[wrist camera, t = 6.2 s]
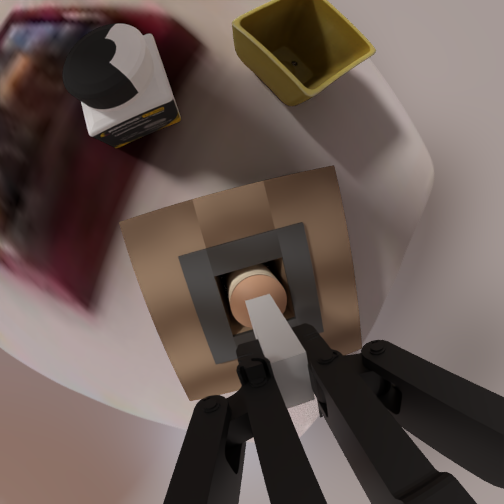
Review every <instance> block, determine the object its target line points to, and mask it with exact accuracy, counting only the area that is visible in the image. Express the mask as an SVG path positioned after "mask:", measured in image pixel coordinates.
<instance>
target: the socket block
mask: <svg viewBox="0 0 504 504" xmlns="http://www.w3.org/2000/svg"><path fill="white" fill-rule="evenodd" d="M119 224H120V227H121V231H122V234H123V237H124V241H125V244H126V247H127V250H128V253H129V257H130V260H131V263H132V266H133V269H134V271H135V274H136V277H137V280H138V283H139V286H140V288H141V291H142V294H143V297H144V299H145V302H146V304H147V307H148V310H149V312H150V315H151V317H152V320H153V322H154V325H155V327H156V329H157V332H158V334H159V336H160V339H161V341H162V343H163V346H164V348H165V350H166V353H167V355H168V357H169V359H170V361H171V363H172V366H173V368H174V370H175V372H176V374H177V376H178V378H179V380H180V382H181V384H182V386H183V388H184V390H185V392H186V394H187V396H188V398H189V400H190V401H193V400H198V399H203V398H205V397H207V396H211V395H221V394H225V393H229V392H233V391H237V390H239V389H240V388H241V386H242V385H241V383H240V380H239V377H238V374H237V372H236V369H237V366H238V365H239V364H238V359H237V354H236V349H237V347H238V345H239V344H242V343H246V342H249V341H253V340H256V338H255V334H254V331H253V328H249V327H246V326H244V325H242V324H241V323H239V322H238V321H237V320H236V319H235V317H234V316H233V314H232V311H231V307H230V302H229V298H227V299H226V296H225V293H224V289H223V286H222V283H221V279H220V276H219V275H222V274H225V273H229V272H232V271H236V270H239V269H243V268H246V267H250V266H253V265H257V264H260V263H264V262H268V266H269V270H270V271H271V272H272V274H273V275H274V276H275V277H276V279H277V280H278V281H279V282H280V284H281V285H282V286H283V288H284V290H285V292H286V296H287V305H286V309H285V311H284V313H283V316H284V318H285V319H286V321H287V322H288V324H289V326H290V327H291V328H292V327H295V326H298V325H301V324H304V323H307V324H310V325H312V326H314V328H315V329H316V330H317V332H318V333H319V334H320V336H321V337H322V338H323V339H324V340H325V342H326V343H327V344H328V345H329V347H330V348H331V349H334V350H337V351H339V352H340V353H341V354H342V355H347V354H349V353H352V352H354V351H357V350H359V349H361V348H362V342H361V329H360V318H359V309H358V299H357V291H356V283H355V275H354V268H353V261H352V255H351V248H350V242H349V236H348V231H347V225H346V220H345V214H344V209H343V204H342V199H341V194H340V190H339V185H338V180H337V176H336V172H335V167H334V165H333V166H328V167H323V168H318V169H313V170H308V171H304V172H299V173H294V174H290V175H285V176H281V177H277V178H272V179H268V180H264V181H260V182H256V183H252V184H248V185H244V186H240V187H236V188H232V189H228V190H224V191H221V192H217V193H213V194H210V195H206V196H202V197H199V198H195V199H192V200H188V201H185V202H182V203H178V204H175V205H171V206H168V207H165V208H162V209H158V210H155V211H152V212H149V213H146V214H143V215H139V216H136V217H133V218H130V219H127V220H124V221H121V222H119Z"/></svg>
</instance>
